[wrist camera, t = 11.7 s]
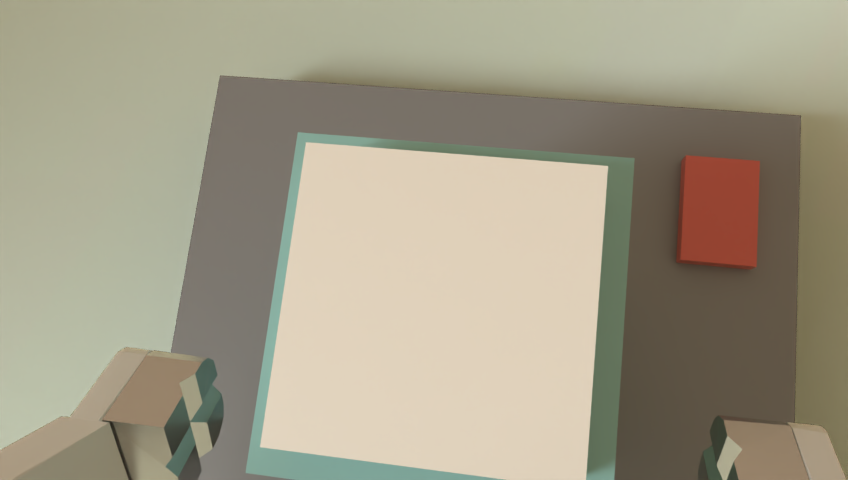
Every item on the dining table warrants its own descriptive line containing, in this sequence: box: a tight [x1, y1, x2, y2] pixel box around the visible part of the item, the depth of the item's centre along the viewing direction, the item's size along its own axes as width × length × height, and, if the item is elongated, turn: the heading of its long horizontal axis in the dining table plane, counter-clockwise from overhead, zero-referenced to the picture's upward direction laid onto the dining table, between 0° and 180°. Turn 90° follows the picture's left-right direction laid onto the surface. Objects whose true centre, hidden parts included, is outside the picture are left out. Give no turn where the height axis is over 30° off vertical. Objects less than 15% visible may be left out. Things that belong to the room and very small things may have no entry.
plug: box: [246, 132, 635, 480], centre depth 13 cm, size 4×4×10 cm
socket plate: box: [171, 76, 801, 480], centre depth 17 cm, size 14×12×2 cm
